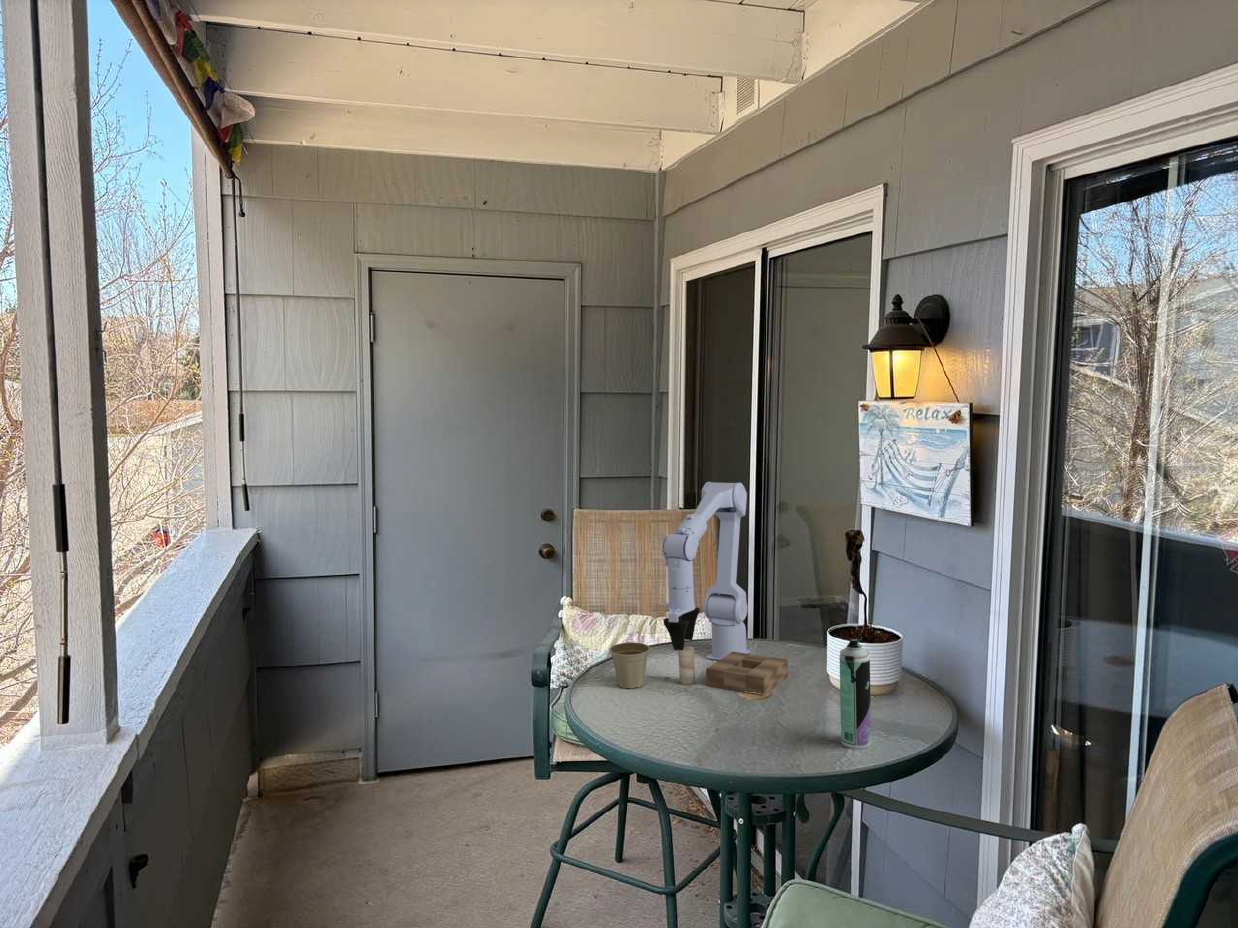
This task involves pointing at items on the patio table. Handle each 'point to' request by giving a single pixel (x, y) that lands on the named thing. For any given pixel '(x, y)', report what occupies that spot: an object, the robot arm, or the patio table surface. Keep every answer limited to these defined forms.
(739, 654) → the socket block
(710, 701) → the patio table surface
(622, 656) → the flower pot
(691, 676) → the peg
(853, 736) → the spray can
